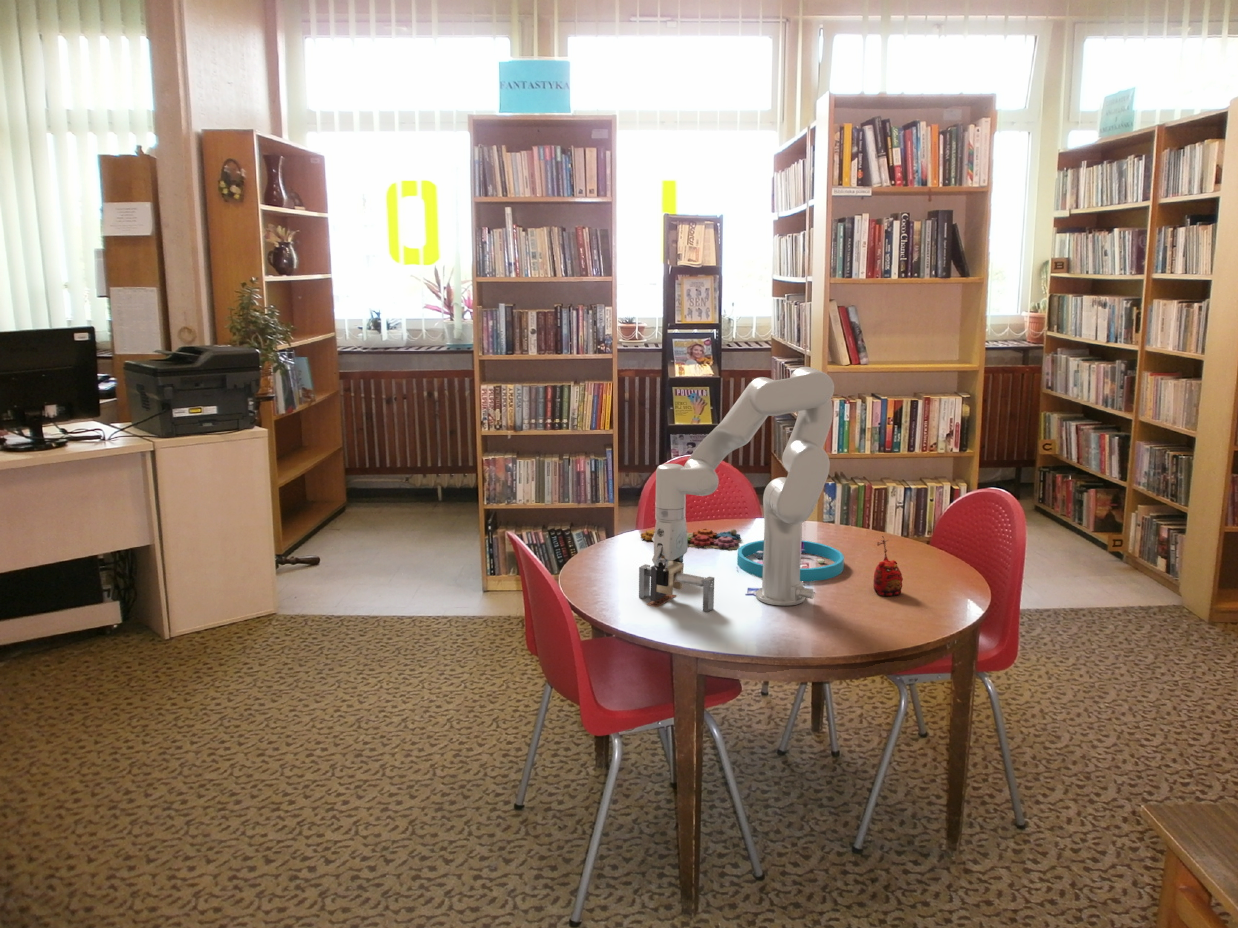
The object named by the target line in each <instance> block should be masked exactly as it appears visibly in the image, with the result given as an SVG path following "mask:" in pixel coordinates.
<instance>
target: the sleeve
mask: <svg viewBox="0 0 1238 928" xmlns="http://www.w3.org/2000/svg"><path fill="white" fill-rule="evenodd" d="M684 564H685V563H684V562H683V563H680V562H676V561H669V563H668V568H667V571H669V575H668V586H661V585H657V588H656V592H660V593H664V594H668V595H671V594H673V592H674V591H673V589H676V590H677V589H678V590H682V589H683V584H684V583H680V582H675V581H673V575H674V574H675V573H677V572H679V573H684ZM663 565H664V563H663Z"/></svg>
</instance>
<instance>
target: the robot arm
mask: <svg viewBox="0 0 1238 928" xmlns="http://www.w3.org/2000/svg"><path fill="white" fill-rule="evenodd" d="M834 392H835V384H834V381H833V379H832V377H831V376H830V375H828V374H827V373H826V372H824V371H821V370H819V369H817V368H813V367H811V366H801V367H798V368H796V369H794V370H793V372H791V375H790V377H788V378H783V379H772V378H770V377H764V376H759V377H756V378H754V379H753V380H752V381H750V382H749V383H748V385H747V386H746V387H745V389H744V391H743V392H742V393H741V394H740V395H739V397H738V398H737V400H736V402H735V403H734V404H733V406H731V408H730V409H729V411H728V412H727V413H726V415H725V416H724V418H723V419H722V420H721V421H720V423H719V424H718V425H716V426H715V427H714V428H713V430H712V431H710V432H709V433H708V435H706V436H705V437H704V438H703V439H702V440H701V442H699V444H698V445H697V446H696V448H695V449H694V451H693V452H692V453H691V454H690V456H689V458H687V460H686V462H685V464H684V465H682V464H679V463H662V464H660V465H657V468H656V470H655V509H654V510H655V516H654V517H655V526H654V528H655V529H654V530H655V534H654V543H653V557H652V564H653V566H654V565H655V569H656V584H657V585H661V586H668V575H669V571H667V568H668V563H669V561H676V562H680V563H684V555H685V554H687V553H688V547H687V546H688V544H687V532H688V527H687V526H688V525H687V520H686V502H687V501H686V496H687V495H692V496H700V497H706V496H709V495H712V494H713V493H715V492H716V490H717V489H718V487H719V483H720V482H719V481H720V480H719V475H718V474H717V472H716V469H717V468H718V467H719V466H720V464H721V463H722V461H723V460H724V459H725V458H726V457H727V456H728V455H729V454H730V453H732V452H733V451H735V450H737V449H740V448H742V447H743V446H745V445H747V444H748V443H749V442H750V441H751V440H752V439H753V437H754V436H755V435H756V433H757V432H758V430H759V429H760V428H761V427H762V425H763V424H764V422H765V421H766V420H767V418H768V417H769V416H771V417H773V416H775V417H776V416H782V415H787V414H793V413H798V414H797V417H796V421H795V424H794V427H793V429H792V431H791V433H790V437H789V439H788V441H787V443H786V447H785V448H784V451H783V453H782V457H781V458H782V459H781V460H782V465H783V467H784V469H785V470H786V471H787V472H788V473H787V476H786V477H785V476H784V477H782V476H780V477H777V478H774V479H772V480H771V481H770V482H769V483H768V484H767V485H766V487H765V489H764V491H763V497H762V501H763V502H762V504H763V505H762V507H763V518H764V521H763V523H764V527H763V528H764V532H763V536H764V537H763V540H764V552H763V559H762V564H763V578H762V579H761V580H762V584H761V585H762V587H761V588H759V589H757V590H756V591H755V597H756V599H757V600H758V601H760V602H761V603H765V604H768V605H772V606H782V607H783V606H785V607H786V606H787V607H788V606H794V605H795V606H796V605H799V604H802V603H804V602H805V601H806V599H811V600H813V599H814V598H815V592H814V589H813V588H809V587H808V588H807V587H805V586H804V582H802V581H800V568H801V562H802V561H801V560H802V552H801V542H802V541H803V523H804V522H806V521H807V520H809V518H810V517H811V516H812V514H813V513H814V510H815V508H816V506H817V504H818V501H819V499H820V496H821V494H822V491H823V489H824V486H825V485H826V481H827V480H828V477H829V474H830V466H831V462H830V458H829V454H828V453H827V452H826V450H825V449H824V446H825V444H826V440H827V437H828V435H829V433H830V429H831V426H832V423H833V416H834V408H833V401H832V397H833V396H834ZM662 556H664V557H665V558H661V557H662ZM661 561H665V563H664V565H663V563H662V562H661Z"/></svg>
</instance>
